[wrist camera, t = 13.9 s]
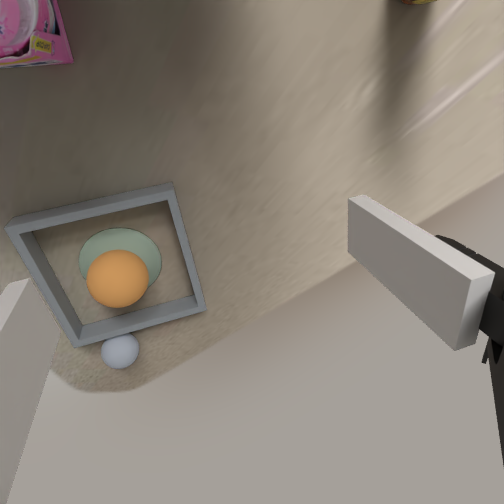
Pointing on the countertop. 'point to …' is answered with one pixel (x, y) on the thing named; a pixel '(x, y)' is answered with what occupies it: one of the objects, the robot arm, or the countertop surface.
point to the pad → (121, 241)
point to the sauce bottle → (417, 1)
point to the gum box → (32, 34)
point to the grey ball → (120, 351)
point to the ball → (117, 278)
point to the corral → (55, 295)
